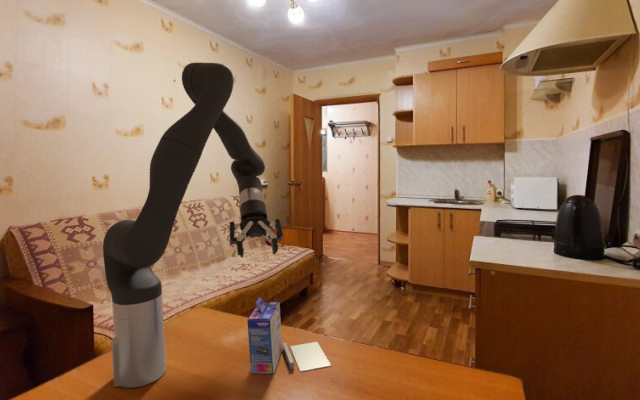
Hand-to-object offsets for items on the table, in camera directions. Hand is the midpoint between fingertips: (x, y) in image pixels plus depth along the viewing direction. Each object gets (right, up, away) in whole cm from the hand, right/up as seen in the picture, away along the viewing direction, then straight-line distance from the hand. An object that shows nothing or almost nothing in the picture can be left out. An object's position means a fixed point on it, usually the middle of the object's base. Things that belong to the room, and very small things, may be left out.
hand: (258, 254), depth 88 cm
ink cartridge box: (+4, -23, -12) cm, 26 cm away
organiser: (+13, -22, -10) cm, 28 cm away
